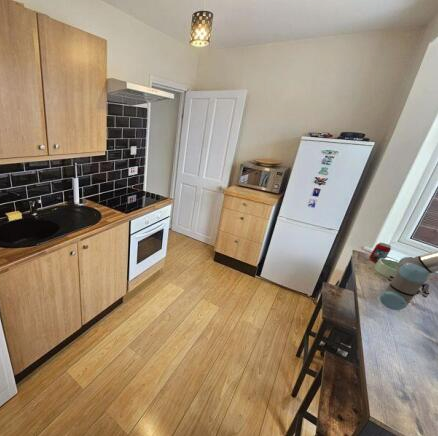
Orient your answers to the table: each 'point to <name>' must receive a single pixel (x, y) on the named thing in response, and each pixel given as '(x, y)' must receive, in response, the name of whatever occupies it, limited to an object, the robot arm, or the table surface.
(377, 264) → the bowl
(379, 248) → the beverage can
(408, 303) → the coaster
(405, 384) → the table surface
